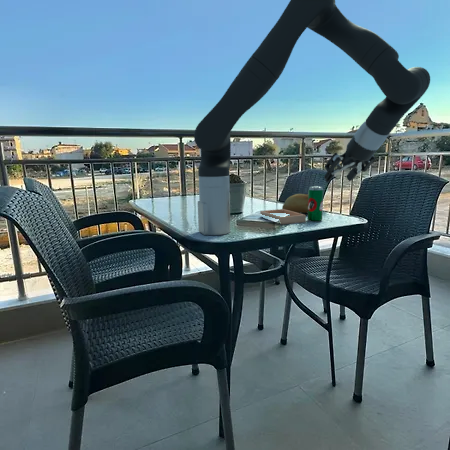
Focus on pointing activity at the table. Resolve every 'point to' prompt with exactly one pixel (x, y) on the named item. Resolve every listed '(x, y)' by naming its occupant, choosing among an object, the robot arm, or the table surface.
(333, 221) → the table surface
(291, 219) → the tray
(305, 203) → the bread roll
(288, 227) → the table surface
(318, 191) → the soda can
